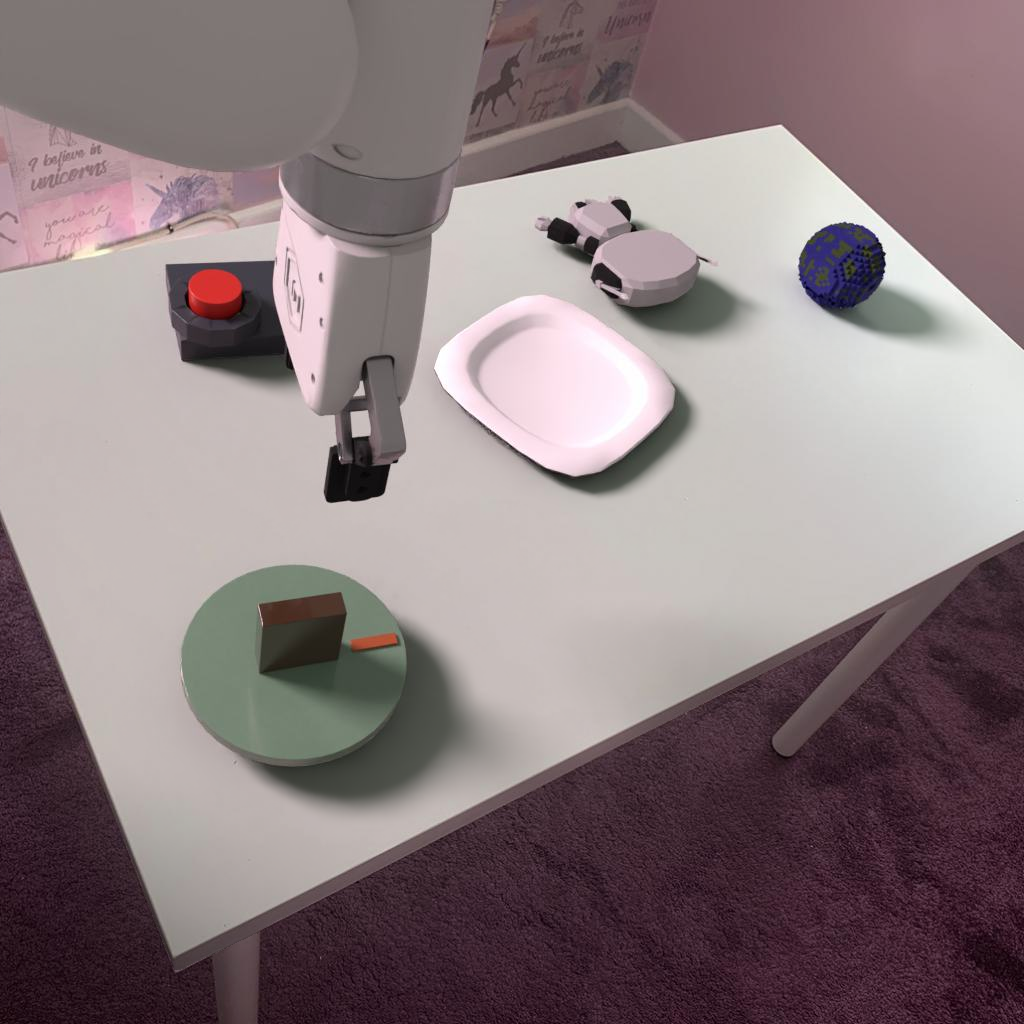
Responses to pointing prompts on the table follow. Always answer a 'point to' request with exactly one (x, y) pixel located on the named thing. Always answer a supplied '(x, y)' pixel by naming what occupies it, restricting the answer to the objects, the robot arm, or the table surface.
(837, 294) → the ball
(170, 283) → the button block
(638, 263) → the robot toy
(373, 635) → the turntable plate
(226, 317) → the button
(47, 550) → the table surface
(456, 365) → the plate
